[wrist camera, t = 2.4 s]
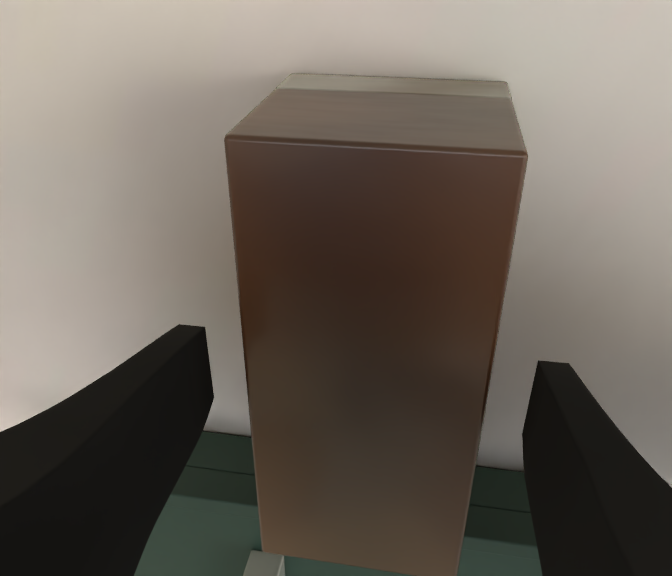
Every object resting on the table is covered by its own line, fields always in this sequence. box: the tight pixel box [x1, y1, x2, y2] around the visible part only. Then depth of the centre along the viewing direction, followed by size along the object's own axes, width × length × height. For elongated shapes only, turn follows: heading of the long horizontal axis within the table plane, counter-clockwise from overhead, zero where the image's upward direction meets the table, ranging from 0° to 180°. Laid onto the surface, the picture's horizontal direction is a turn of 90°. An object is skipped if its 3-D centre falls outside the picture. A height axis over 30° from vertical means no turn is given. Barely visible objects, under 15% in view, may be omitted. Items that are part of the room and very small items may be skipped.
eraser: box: [224, 73, 528, 576], centre depth 15 cm, size 5×11×5 cm, turn 0°
